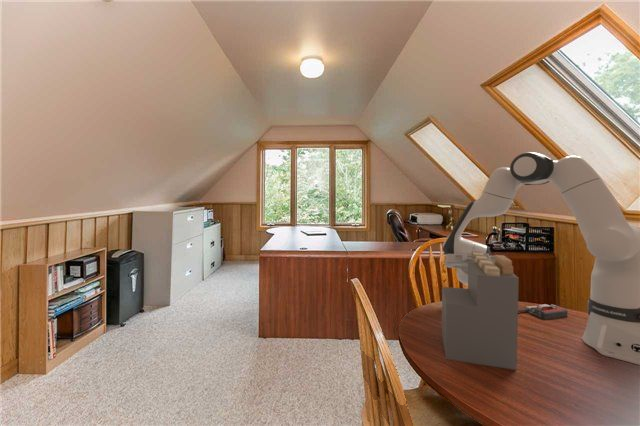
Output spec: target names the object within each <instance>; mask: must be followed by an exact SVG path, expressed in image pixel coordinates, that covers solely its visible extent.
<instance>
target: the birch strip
mask: <svg viewBox="0 0 640 426" xmlns="http://www.w3.org/2000/svg"><path fill="white" fill-rule="evenodd" d="M471 255H472V258H473V259H474V261H475V262H476V263H477V264H478V265H479V266H480V268H481V269H482V270H483V271H484V272H485V273H486V275H487V276H500V269H499V268H498V267H497V266H496V265H495V264H493V263H492V262H491V261H490V260H489V259H488V258H487V257H486V256H485V255H484V254H483V253H481V252H475V251H471Z"/></svg>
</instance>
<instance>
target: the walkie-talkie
mask: <svg viewBox="0 0 640 426" xmlns="http://www.w3.org/2000/svg"><path fill="white" fill-rule="evenodd" d="M522 312H523V313H524V312H525V313H526V312H527V313H529V314H531V315H534V316H535V317H538V318H541V319H543V320H553V319H554V320H555V319H559V318H560V319H561V318H567V317H568V309H567V308H565V307H562V306H560V305H556V304H552V303H551V304H550V305H549V304H546V303H544V304H538V305H531V306H525V308H521V309H519V308H518V313H522Z"/></svg>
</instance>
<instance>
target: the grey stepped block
mask: <svg viewBox="0 0 640 426" xmlns="http://www.w3.org/2000/svg"><path fill="white" fill-rule="evenodd" d="M494 256H495V262H494V264H495V265H496V266H497V267H498V268H499V269H500V276H487V275H486V273H485V272H484V271H483V270H482V269H481V268H480V266H479V265H478V264H477V263H469V262H468V285H467V288H464V287H463V288H461V287H450V286H442V287H441V337H442V338H441V339H442V344H443V350H444V355H445V360H450V361H456V362H462V363H467V364H475V365H481V366H487V367H488V366H489V367H494V368H502V369H507V370H515V371H517V370H518V369H517V367H518V364H517V363H518V362H517V360H518V331H519V330H518V327H519V325H518V323H519V319H518V318H519V312H518V309H519V281H520V280H519V279H520V278H519V276H517V275H516V274H515V273H514V265H512V264H513V260H511V259H510V258H509V257H507V256H506V255H504V254H502V255H501V254H495V255H494Z"/></svg>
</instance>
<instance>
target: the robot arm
mask: <svg viewBox="0 0 640 426" xmlns="http://www.w3.org/2000/svg"><path fill="white" fill-rule="evenodd" d="M549 182H550V183H551V184H553V185H554V187H555V188H556V189H557V191H558V192H559V194H560V196H561V197H562V198H563V200H564V201H565V203H566V205H567V206H568V208H569V210H570V211H571V213H572V214H573V217H574V218H575V221H576V223H577V225H578V228H579V230H580V233H581V235H582V237H583V239H584V241H585V244H586V249H587V251H588V252H589V253H590V254H591V255H592V256H593V257H595V259H594V263H593V268H592V270H591V274H590V275H591V277H590V296H589V297H588V300H587V316H588V318H587V322H586V323H587V324H586V327H585V330H584V332H583V335H582V337H581V339H582V341H583V343H585V344H586V345H587V346H590V348H593V349H594V350H596V351H597V352H598V353H600V354H601V355H602V356H605V357H610V358H612V359H615V360H621V361H624V362H627V363H632V364H635V365H638V366H640V227H639V226H638V225H635V224H633V223H630V222H628V221H627V219H626V217H625V214H624V212H623V211H622V210H621V207H620V206H619V203H618V201H617V198H615V196H614V194H613V193H612V191H611V190H610V188H609V187H608V186H607V184H606V183H605V182H604V180H603V178H601V176H600V174H598V172H597V171H596V170H595V169H594V168H593V166H591V164H589V163H588V162H587V161H586V160H585V159H584V158H583V157H581V156H578V155H568V156H565V157H562V158H560V159H557V160H554V159H553V158H550V157H548V156H547V155H545V154H542V153H538V152H534V151H533V152H532V151H528V152H523V153H520V154H518V155H517V156H515V157H514V159H513V160H512V161H511V163H510V166H509V167H506V166H502V167H497V168H496V169H495V170H493V172H491V174H490V176H489V178H488V179H487V182H486V183H485V185H484V189H483V191H482V193H481V195H480V196H479V197H478V198H477V199H476V200H475V201H473V200H472V201H471V202H469V203H468V204H467V206H466V207H465V209H464V210H463V212H462V214H461V215H460V217H459V218H458V221H457V222H456V223H455V225H454V226H453V229H452V231H451V233H449V234H448V236H447V237H446V239H445V240H444V241H443V243H442V252H443V253H444V254H445V259H444V261H443V265H444V266H446V268H449V269H456V278H457V280H458V281H459V282H460V283H461V284H463V285H465V286H466V285H467V286H468V262H469V263H476V262H475V261H474V259H473V258H472V255H471V251H475V252H481V253H483V254H484V255H485V256H486V257H487V258H488V259H489V260H490V261H491V262H492V263H493V264H494V262H495V255H492V252H491V250H490V247H489V246H488V245H486V244H484V243H480V242H478V241H474V240H471V239H468V238H464V237H463V236H462V234H463V232H464V231H465V229H466V227H467V225H468V224H469V223H470V221H472V220H473V219H477V218H492V217H498V216H502V215H504V214H506V213H508V211H509V209H511V208H510V207H511V206H512V205H513V202H514V200H515V196H516V195H517V192H518V190H519V189H520V187H523V186H540V185H545V184H548V183H549Z"/></svg>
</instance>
